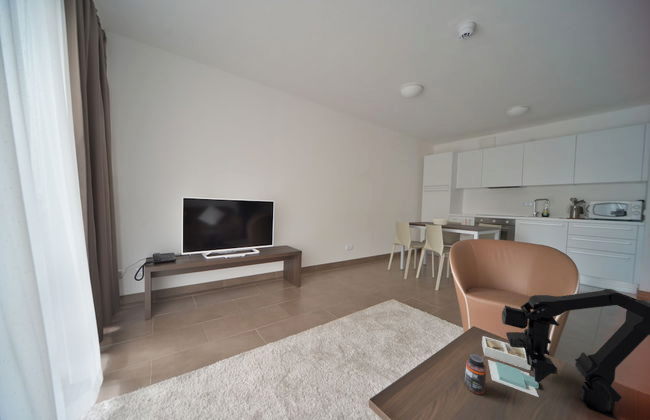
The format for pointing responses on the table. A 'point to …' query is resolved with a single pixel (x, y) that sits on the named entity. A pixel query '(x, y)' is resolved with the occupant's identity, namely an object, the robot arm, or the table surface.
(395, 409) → the table surface
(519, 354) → the cube
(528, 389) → the mat
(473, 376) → the supplement bottle
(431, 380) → the table surface
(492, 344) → the cube
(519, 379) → the lid
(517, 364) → the tub
